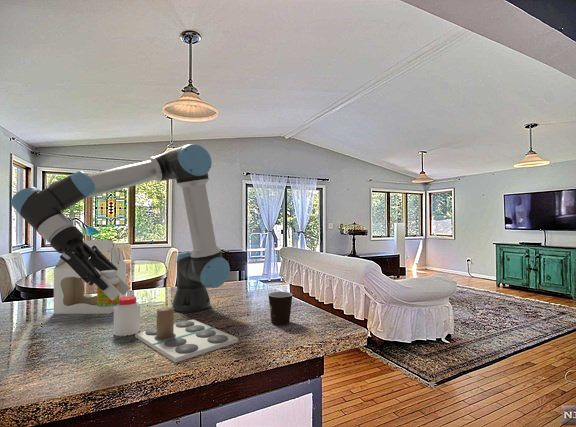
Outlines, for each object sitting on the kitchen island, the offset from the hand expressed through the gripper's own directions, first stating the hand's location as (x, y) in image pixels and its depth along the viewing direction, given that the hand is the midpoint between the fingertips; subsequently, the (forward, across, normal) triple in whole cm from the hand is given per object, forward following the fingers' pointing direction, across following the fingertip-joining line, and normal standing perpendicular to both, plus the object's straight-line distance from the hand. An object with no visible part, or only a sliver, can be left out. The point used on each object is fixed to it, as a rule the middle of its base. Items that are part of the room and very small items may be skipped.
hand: (121, 294), depth 92 cm
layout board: (+22, -10, -1) cm, 24 cm away
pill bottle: (+7, -17, -16) cm, 24 cm away
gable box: (-12, -44, -35) cm, 58 cm away
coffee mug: (+43, -28, +19) cm, 54 cm away
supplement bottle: (0, 0, -5) cm, 5 cm away
